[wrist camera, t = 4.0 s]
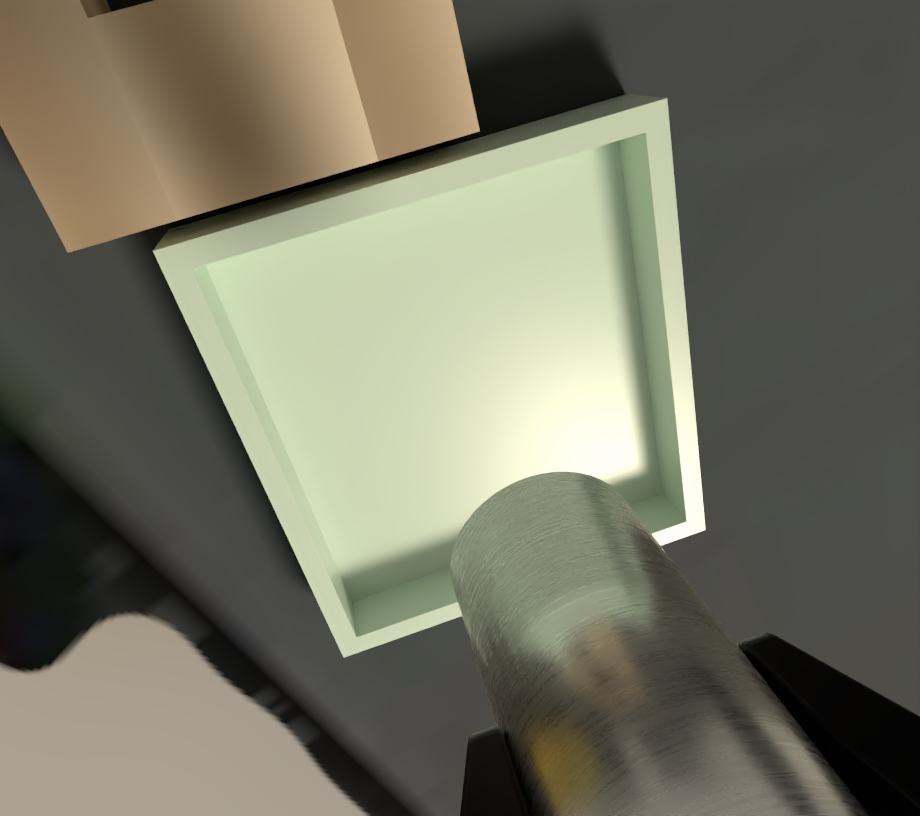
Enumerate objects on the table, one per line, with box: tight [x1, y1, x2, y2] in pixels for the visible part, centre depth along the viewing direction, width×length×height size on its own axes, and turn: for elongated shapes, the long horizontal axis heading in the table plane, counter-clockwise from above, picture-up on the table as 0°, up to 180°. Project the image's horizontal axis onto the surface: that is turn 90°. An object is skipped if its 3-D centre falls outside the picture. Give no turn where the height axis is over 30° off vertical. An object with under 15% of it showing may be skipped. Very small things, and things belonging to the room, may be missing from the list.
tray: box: [153, 94, 705, 657], centre depth 20 cm, size 12×13×2 cm
